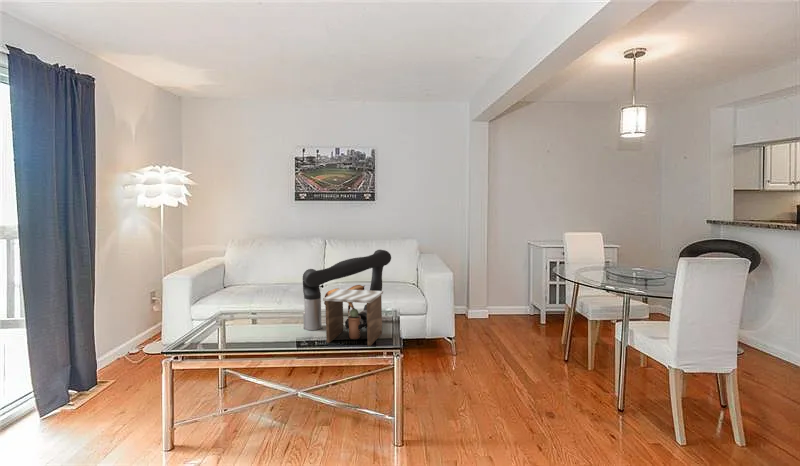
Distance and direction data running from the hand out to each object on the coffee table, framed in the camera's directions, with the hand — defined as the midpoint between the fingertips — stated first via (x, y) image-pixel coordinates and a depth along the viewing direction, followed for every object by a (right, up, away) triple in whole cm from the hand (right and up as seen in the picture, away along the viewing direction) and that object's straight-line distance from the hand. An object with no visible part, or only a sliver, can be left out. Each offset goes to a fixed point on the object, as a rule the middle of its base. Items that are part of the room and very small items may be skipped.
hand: (352, 327), depth 248 cm
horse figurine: (-10, -2, +47) cm, 48 cm away
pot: (+1, -6, +3) cm, 6 cm away
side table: (+1, -6, +3) cm, 7 cm away
